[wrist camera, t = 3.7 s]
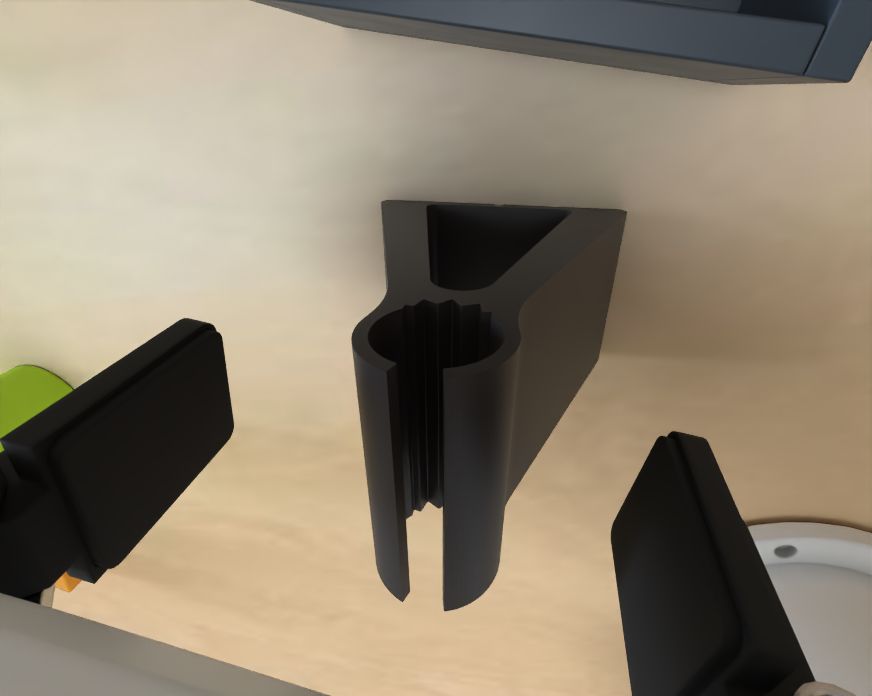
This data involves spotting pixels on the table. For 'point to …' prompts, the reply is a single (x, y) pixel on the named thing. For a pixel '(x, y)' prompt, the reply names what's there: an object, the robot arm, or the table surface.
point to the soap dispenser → (27, 395)
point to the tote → (636, 33)
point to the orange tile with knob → (67, 582)
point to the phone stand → (473, 367)
